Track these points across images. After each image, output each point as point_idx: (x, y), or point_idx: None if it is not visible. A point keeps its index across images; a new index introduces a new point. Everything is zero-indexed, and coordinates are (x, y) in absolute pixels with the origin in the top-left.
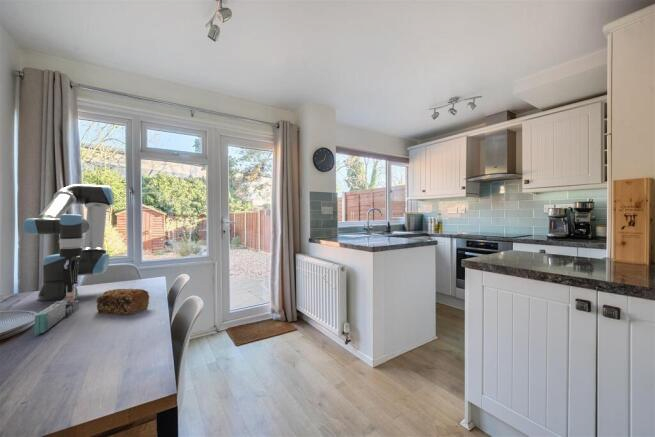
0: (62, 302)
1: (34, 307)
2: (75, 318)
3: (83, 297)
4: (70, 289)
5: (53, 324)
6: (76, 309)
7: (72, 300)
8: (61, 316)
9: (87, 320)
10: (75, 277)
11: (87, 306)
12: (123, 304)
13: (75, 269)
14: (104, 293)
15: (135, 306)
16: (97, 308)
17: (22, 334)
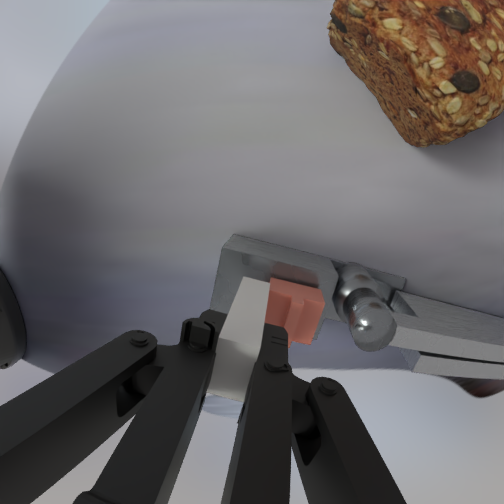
0: (467, 340)
1: None
2: (440, 245)
3: (20, 225)
4: (285, 349)
5: (494, 316)
6: (275, 245)
7: (300, 289)
8: (441, 306)
9: (499, 201)
10: (173, 388)
11: (215, 191)
12: None
13: (124, 501)
14: (474, 92)
15: None
16: (418, 145)
17: (477, 378)
